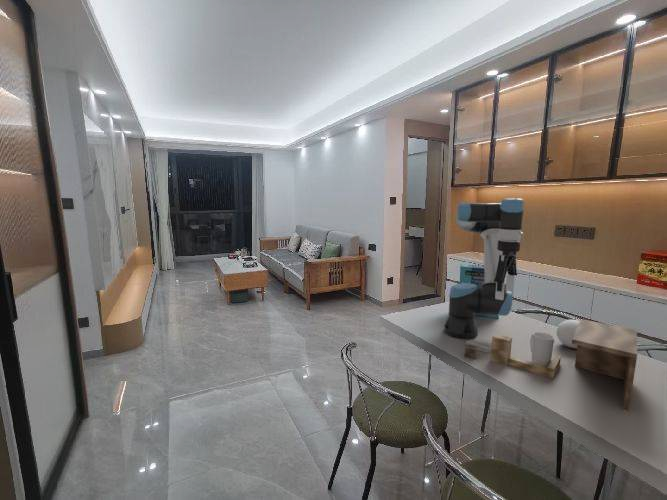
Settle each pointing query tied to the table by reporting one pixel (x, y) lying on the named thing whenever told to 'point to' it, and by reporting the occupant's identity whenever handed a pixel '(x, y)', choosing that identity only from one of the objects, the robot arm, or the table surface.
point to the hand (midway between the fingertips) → (504, 295)
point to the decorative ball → (567, 332)
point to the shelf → (607, 352)
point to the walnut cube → (470, 351)
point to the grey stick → (479, 347)
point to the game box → (474, 280)
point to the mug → (541, 348)
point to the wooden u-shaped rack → (503, 353)
